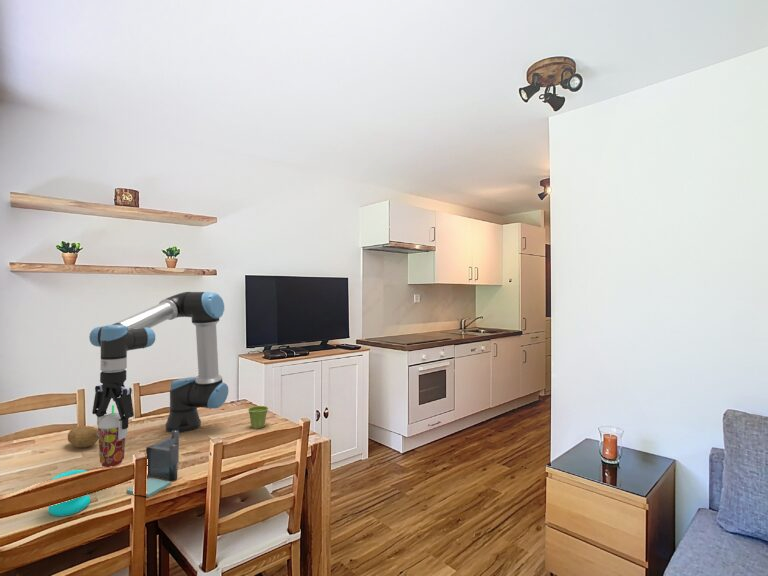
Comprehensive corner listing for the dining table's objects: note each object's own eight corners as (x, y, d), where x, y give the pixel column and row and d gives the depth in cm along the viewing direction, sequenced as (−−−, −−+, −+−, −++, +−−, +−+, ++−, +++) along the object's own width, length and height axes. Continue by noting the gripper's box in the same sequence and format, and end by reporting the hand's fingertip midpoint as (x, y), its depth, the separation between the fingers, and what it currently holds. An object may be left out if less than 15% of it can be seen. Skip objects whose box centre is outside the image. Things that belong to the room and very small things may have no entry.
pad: (126, 493, 132) (126, 489, 132) (149, 480, 141) (149, 477, 141) (148, 497, 130) (148, 494, 130) (170, 484, 138) (170, 481, 138)
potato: (84, 440, 177) (84, 421, 177) (106, 444, 172) (107, 425, 172) (59, 448, 167) (59, 428, 167) (82, 453, 162) (82, 433, 162)
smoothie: (100, 460, 142) (101, 403, 142) (128, 457, 146) (129, 401, 145) (94, 470, 135) (95, 410, 135) (124, 466, 138) (125, 407, 138)
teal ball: (78, 465, 129) (98, 472, 125) (78, 497, 129) (97, 505, 125) (41, 478, 120) (61, 486, 116) (40, 512, 120) (60, 521, 116)
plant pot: (264, 430, 192) (264, 411, 192) (244, 429, 192) (245, 411, 192) (270, 423, 201) (270, 406, 201) (251, 423, 202) (251, 405, 202)
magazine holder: (144, 475, 144) (145, 441, 144) (174, 460, 157) (175, 429, 157) (173, 481, 141) (173, 446, 141) (201, 465, 154) (202, 433, 154)
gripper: (79, 370, 140) (78, 436, 140) (127, 374, 133) (126, 444, 133) (100, 366, 147) (99, 429, 147) (147, 370, 140) (146, 436, 140)
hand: (112, 436), depth 140 cm, fingers closed on smoothie, 8 cm apart
